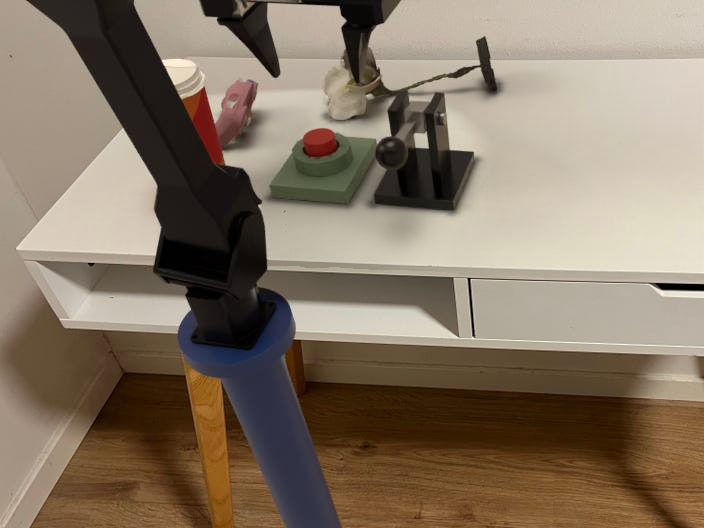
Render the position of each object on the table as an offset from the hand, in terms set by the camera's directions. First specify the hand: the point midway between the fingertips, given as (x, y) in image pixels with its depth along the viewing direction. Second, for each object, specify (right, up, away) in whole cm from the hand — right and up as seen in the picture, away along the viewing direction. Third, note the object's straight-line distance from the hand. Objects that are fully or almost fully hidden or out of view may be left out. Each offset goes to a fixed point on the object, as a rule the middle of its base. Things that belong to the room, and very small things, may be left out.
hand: (317, 78), depth 81 cm
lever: (+9, -7, 0) cm, 12 cm away
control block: (-1, -7, +10) cm, 13 cm away
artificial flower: (+8, +5, +21) cm, 23 cm away
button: (-1, -5, +8) cm, 10 cm away
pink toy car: (-14, 0, +19) cm, 23 cm away
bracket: (+11, -9, +8) cm, 16 cm away
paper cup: (-15, -10, +10) cm, 20 cm away
